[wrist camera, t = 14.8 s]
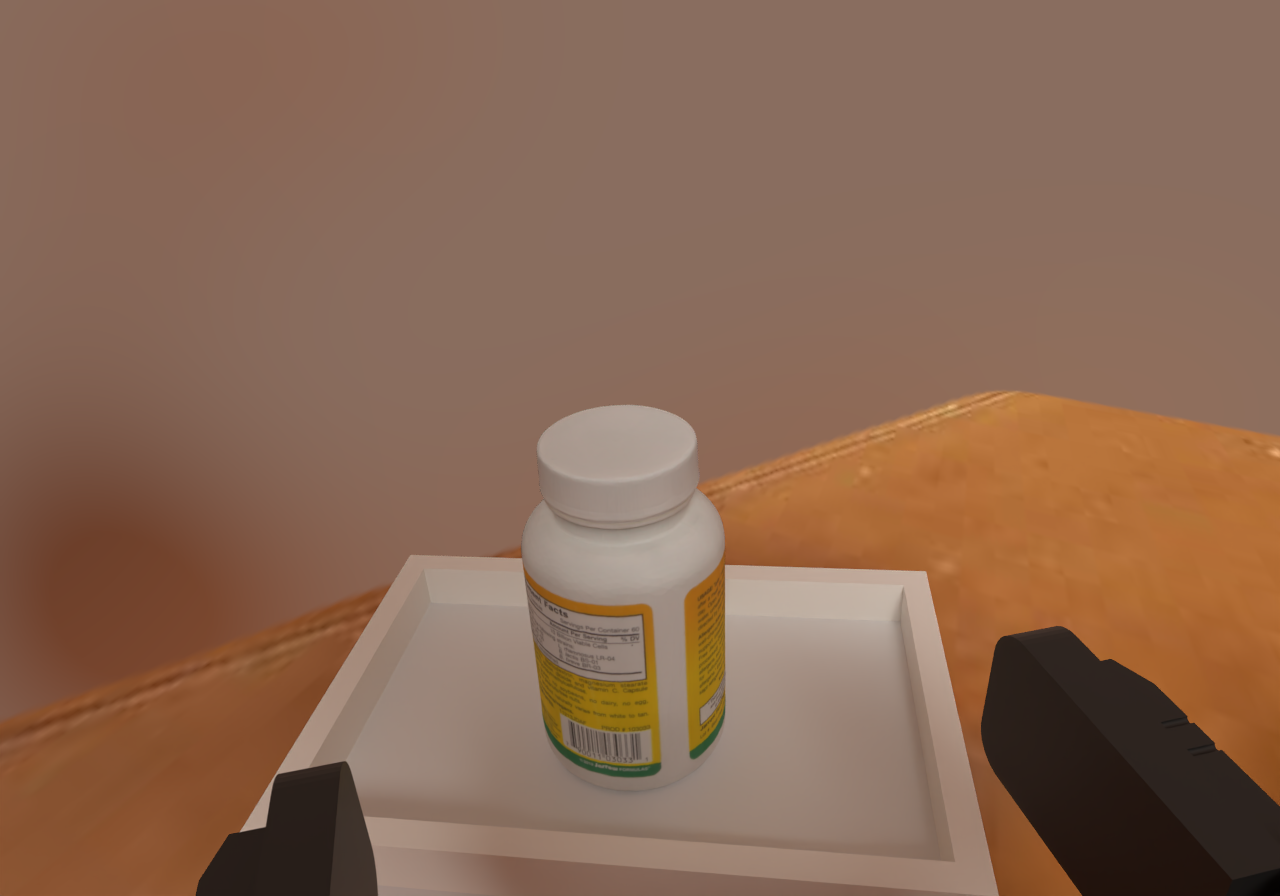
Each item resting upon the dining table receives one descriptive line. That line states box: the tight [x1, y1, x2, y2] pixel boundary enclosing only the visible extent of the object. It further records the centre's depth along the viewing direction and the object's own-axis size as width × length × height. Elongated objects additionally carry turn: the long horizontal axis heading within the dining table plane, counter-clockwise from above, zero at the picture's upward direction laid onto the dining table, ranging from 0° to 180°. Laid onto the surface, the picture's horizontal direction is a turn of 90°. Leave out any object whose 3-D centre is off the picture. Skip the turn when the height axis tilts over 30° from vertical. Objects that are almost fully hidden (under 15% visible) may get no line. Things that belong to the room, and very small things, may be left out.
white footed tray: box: [240, 555, 999, 896], centre depth 28 cm, size 18×12×6 cm, turn 82°
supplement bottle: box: [521, 405, 726, 791], centre depth 25 cm, size 5×5×10 cm
